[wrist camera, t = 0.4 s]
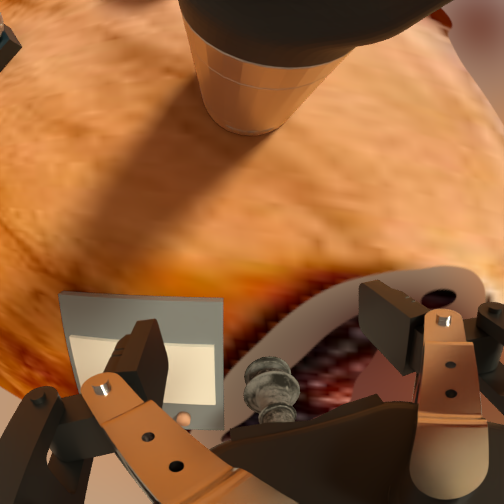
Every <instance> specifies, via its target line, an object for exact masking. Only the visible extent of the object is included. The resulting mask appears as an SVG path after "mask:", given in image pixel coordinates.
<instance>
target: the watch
mask: <svg viewBox="0 0 504 504" xmlns="http://www.w3.org/2000/svg"><path fill="white" fill-rule="evenodd" d="M21 48H22V46H21V44H20V43H19V41H18V40H17V38H16V36H15V35H14V33H13V31H12V30H11V28H9V27H8V26H6V25H5V24H3V18H2V15H1V13H0V72H1V71H2V69H3V68H4V67H5V66H6V65H7V64H8V62H9V61H10V60H11V59H12V58H13V57H14V56H15V54H16V53H17V52H18V51H19V50H20V49H21Z"/></svg>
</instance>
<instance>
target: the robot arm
mask: <svg viewBox="0 0 504 504" xmlns="http://www.w3.org/2000/svg"><path fill="white" fill-rule="evenodd" d="M178 1H179V6H180V9H181V13H182V17H183V21H184V25H185V29H186V33H187V37H188V41H189V45H190V49H191V53H192V57H193V61H194V65H195V70H196V74H197V78H198V82H199V86H200V91H201V95H202V99H203V103H204V105H205V108H206V110H207V112H208V114H209V115H210V116H211V118H212V119H213V120H214V121H215V122H216V123H217V124H218V125H219V126H221V127H223V128H224V129H226V130H228V131H230V132H233V133H236V134H239V135H247V136H253V135H261V134H265V133H269V132H271V131H273V130H275V129H277V128H278V127H280V126H281V125H282V124H284V123H285V122H286V121H287V119H288V118H289V117H290V116H291V115H292V114H293V113H294V112H295V111H296V110H297V109H298V108H299V107H300V105H301V104H302V103H303V102H304V101H305V100H306V99H307V98H308V97H309V96H310V95H311V93H312V92H313V91H314V90H315V89H316V88H317V87H318V86H319V85H320V84H321V83H322V82H323V81H324V80H325V78H326V77H327V76H328V75H329V74H330V73H331V72H332V71H333V70H334V69H335V68H336V67H337V66H338V65H339V64H340V62H341V61H342V60H343V59H344V58H345V57H346V56H347V55H348V54H349V53H350V52H351V51H352V50H353V49H354V48H355V47H357V46H363V45H368V44H373V43H377V42H380V41H383V40H386V39H389V38H391V37H393V36H395V35H397V34H399V33H401V32H403V31H404V30H406V29H408V28H409V27H411V26H412V25H414V24H415V23H417V22H419V21H420V20H422V19H423V18H425V17H426V16H428V15H430V14H431V13H433V12H435V11H436V10H438V9H439V8H441V7H443V6H444V5H446V4H448V3H449V2H451V1H453V0H178ZM359 325H360V328H361V331H362V332H363V334H364V335H365V336H366V337H367V338H368V339H369V340H370V341H371V342H372V343H373V344H374V345H375V346H376V348H377V349H378V350H379V351H380V352H381V353H382V354H383V355H384V356H385V357H386V358H387V359H388V360H389V362H390V363H391V364H392V365H393V366H394V367H395V368H396V369H397V370H398V371H399V372H400V373H401V374H402V376H405V375H408V374H410V373H413V372H416V373H417V374H416V379H415V385H414V392H413V398H412V402H403V401H392V402H383V401H382V400H381V399H380V397H379V396H378V395H377V394H374V395H371V396H368V397H366V398H362V399H359V400H356V401H353V402H349V403H346V404H343V405H341V406H339V407H337V408H335V409H333V410H331V411H329V412H327V413H325V414H323V415H321V416H319V417H317V418H315V419H312V420H309V421H297V422H268V423H262V424H257V425H251V426H245V427H239V428H232V429H230V434H231V440H228V441H225V442H223V443H221V444H219V445H217V446H215V447H213V448H211V449H207V448H206V447H205V446H204V445H202V444H201V443H200V442H199V441H197V440H196V439H195V438H194V437H193V436H192V435H190V434H189V433H188V432H187V431H186V430H185V429H183V428H182V427H181V426H180V425H179V424H178V423H177V422H175V421H174V420H173V419H172V418H171V417H170V416H169V415H168V414H167V413H166V412H164V411H163V410H162V406H163V400H164V393H165V387H166V381H167V375H168V370H169V363H168V356H167V352H166V349H165V346H164V342H163V339H162V335H161V331H160V328H159V324H158V322H157V320H156V319H148V320H140V321H137V322H136V324H135V326H134V328H133V330H132V332H131V334H126V335H125V336H124V337H123V338H121V339H120V340H119V341H118V342H117V344H116V346H115V348H114V351H113V353H112V355H111V357H110V359H109V361H108V363H107V365H106V367H105V369H104V371H103V373H100V374H97V375H94V376H92V377H90V378H89V379H87V380H86V381H85V382H84V383H83V385H82V386H81V394H78V395H73V396H69V397H64V398H60V396H59V394H58V392H57V390H56V389H55V388H53V387H50V386H43V387H38V388H36V389H33V390H32V391H30V392H29V393H27V394H26V395H25V396H24V398H23V399H22V401H21V403H20V404H19V406H18V408H17V410H16V411H15V413H14V415H13V416H12V418H11V420H10V422H9V424H8V425H7V427H6V429H5V431H4V433H3V435H2V436H1V438H0V504H84V500H85V495H86V490H87V485H88V480H89V476H90V471H91V467H92V462H93V457H96V456H101V455H106V454H110V453H115V454H116V456H117V457H118V458H119V460H120V461H121V463H122V464H123V466H124V467H125V468H126V470H127V471H128V472H129V474H130V475H131V476H132V478H133V479H134V480H135V481H136V483H137V484H138V485H139V487H140V488H141V489H142V490H143V492H144V493H145V494H146V495H147V497H148V498H149V499H150V501H151V502H152V503H153V504H504V425H501V424H496V423H491V422H487V420H486V419H485V418H483V417H482V411H481V398H480V392H481V393H482V394H483V395H484V396H485V397H486V398H488V400H489V401H490V402H491V403H492V404H493V405H494V406H495V407H496V408H497V409H498V410H499V411H500V412H501V413H502V414H503V415H504V365H503V364H502V363H501V362H500V361H499V360H500V357H501V353H502V350H503V346H504V304H501V303H496V302H487V303H483V304H481V305H480V306H479V307H478V313H477V318H471V319H465V320H463V319H462V317H461V315H460V314H459V313H457V312H455V311H453V310H449V309H435V310H429V309H428V308H426V307H425V306H423V305H422V304H420V303H419V302H417V301H415V300H414V299H412V298H411V297H409V296H408V295H406V294H405V293H403V292H402V291H399V290H395V289H392V288H390V287H389V286H387V285H385V284H384V283H383V282H381V281H380V280H374V281H370V282H365V283H361V284H360V286H359ZM49 448H50V449H51V451H52V455H51V458H50V461H49V463H48V465H47V461H46V457H47V452H48V450H49Z"/></svg>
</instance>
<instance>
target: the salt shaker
mask: <svg viewBox="0 0 504 504" xmlns="http://www.w3.org/2000/svg"><path fill="white" fill-rule="evenodd" d="M244 377H245V383H246V385H247V386H246V387H245V390H244V401H245V402H246V404H247V406H248V407H249V408H250V409H251V410H253V411H255V412H257V413H260V414H259V422H260V424H262V423H268V422H295V421H294V420H295V418H296V411H295V409H294V408H293V407H292V405H293V404H294V403H295V402H296V400H297V399H298V397H299V393H300V387H299V384H298V382H297V380H296V379H295V378H294V377H293V376H291V370H290V368H289V366H288V365H287V363H286V362H285V361H283V360H281V359H280V358H277V357H262V358H260V359H257V360H255V361H254V362H252V363H251V364H250V365H249V366H248V368H247V369H246V372H245V376H244Z"/></svg>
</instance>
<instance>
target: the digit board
mask: <svg viewBox="0 0 504 504" xmlns="http://www.w3.org/2000/svg"><path fill="white" fill-rule="evenodd" d="M58 297H59V304H60V310H61V316H62V322H63V328H64V333H65V338H66V343H67V347H68V352H69V356H70V360H71V365H72V369H73V373H74V376H75V380H76V384H77V387H78V391H79V394H81V386H82V385H83V383H84V382H85V381H86V380H87V379H89V378H90V377H92V376H94V375H97V374H100V373H103V371H104V369H105V367H106V365H107V363H108V361H109V359H110V357H111V355H112V353H113V351H114V348H115V346H116V344H117V342H118V341H119V340H120V339H121V338H123V337H124V336H125V335H126V334H131V332H132V330H133V328H134V326H135V324H136V322H137V321H140V320H148V319H156V320H157V322H158V324H159V328H160V331H161V335H162V339H163V342H164V346H165V349H166V352H167V356H168V363H169V370H168V375H167V381H166V387H165V393H164V400H163V406H162V410H163V411H164V412H166V413H167V414H168V415H169V416H170V417H171V418H172V419H173V420H174V421H175V422H177V423H178V424H179V425H180V426H181V427H182V428H183V429H198V430H224V391H223V298H201V297H166V296H140V295H120V294H102V293H86V292H71V291H62V292H61V293H59V294H58Z"/></svg>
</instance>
